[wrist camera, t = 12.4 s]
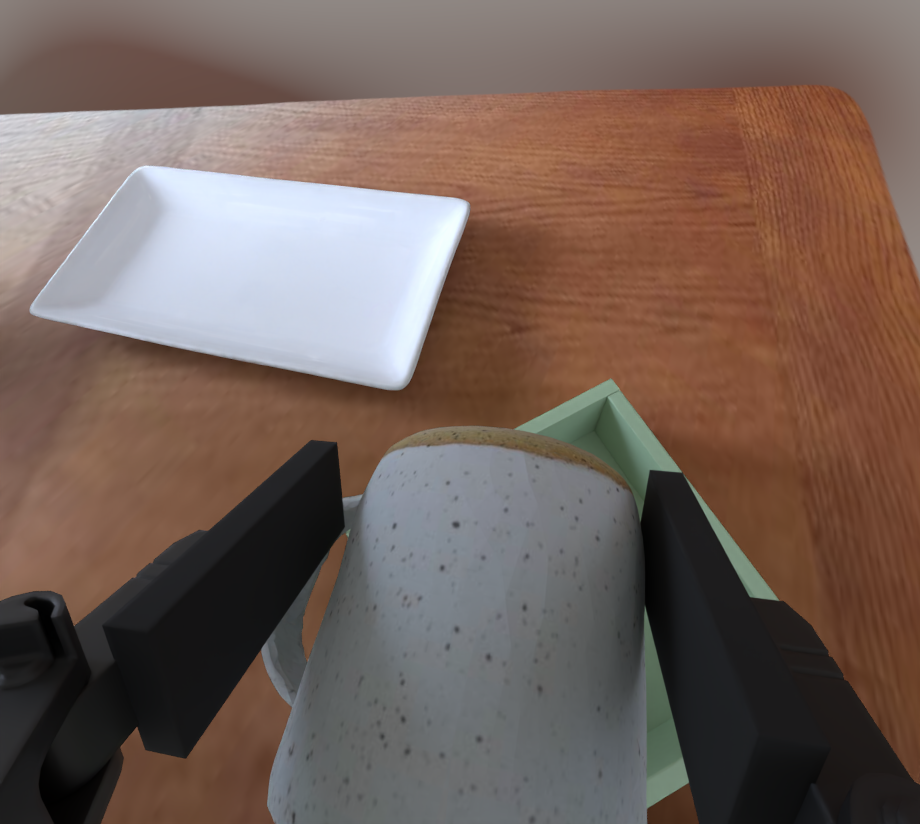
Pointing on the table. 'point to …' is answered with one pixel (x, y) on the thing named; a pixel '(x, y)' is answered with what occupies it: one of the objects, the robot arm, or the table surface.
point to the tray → (264, 271)
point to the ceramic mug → (472, 645)
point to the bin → (633, 455)
